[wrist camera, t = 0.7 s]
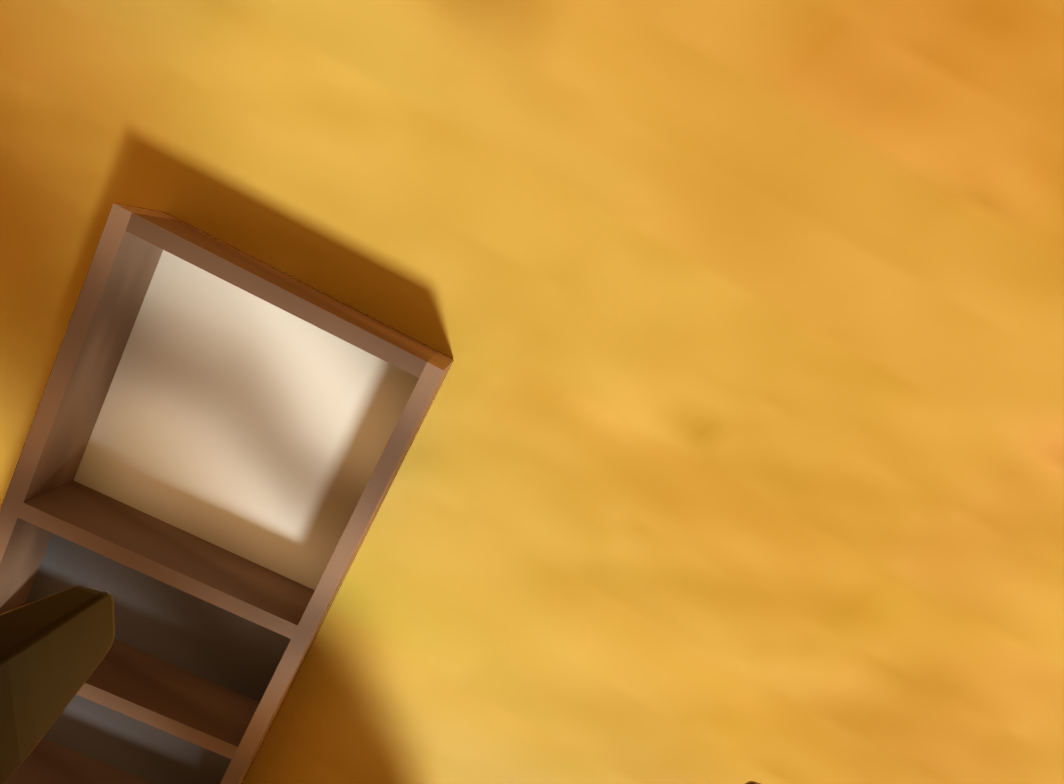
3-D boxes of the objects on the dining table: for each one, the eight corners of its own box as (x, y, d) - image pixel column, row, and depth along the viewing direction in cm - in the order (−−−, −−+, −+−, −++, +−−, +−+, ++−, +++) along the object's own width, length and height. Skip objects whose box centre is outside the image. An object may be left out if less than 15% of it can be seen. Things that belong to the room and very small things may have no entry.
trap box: (225, 817, 25) (192, 875, 23) (-30, 713, 24) (-93, 762, 21) (453, 359, 21) (443, 370, 19) (163, 212, 20) (113, 203, 18)
